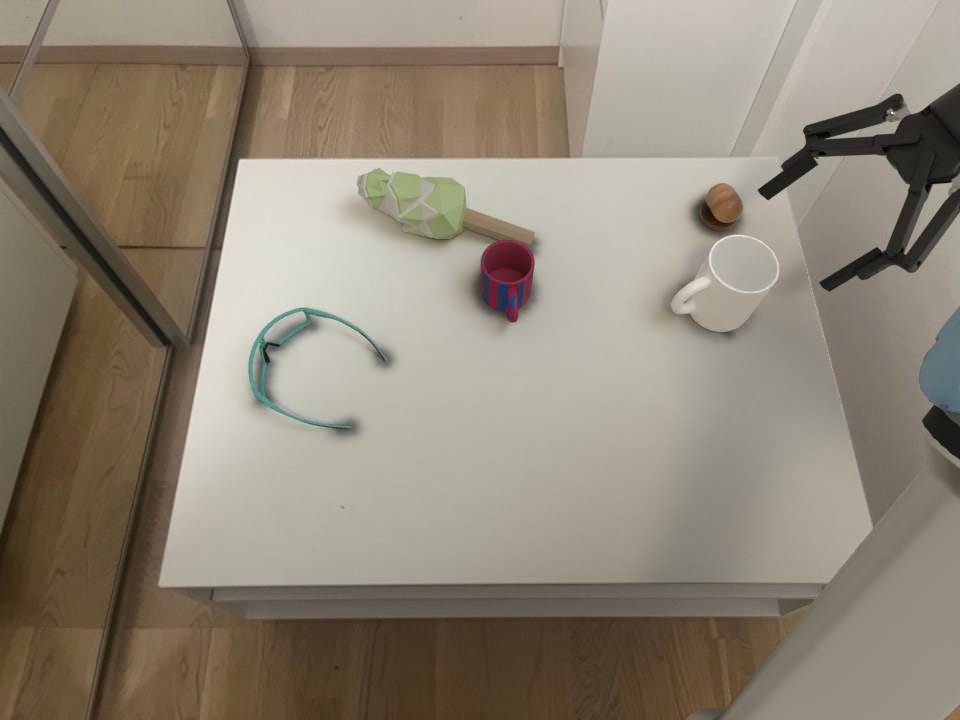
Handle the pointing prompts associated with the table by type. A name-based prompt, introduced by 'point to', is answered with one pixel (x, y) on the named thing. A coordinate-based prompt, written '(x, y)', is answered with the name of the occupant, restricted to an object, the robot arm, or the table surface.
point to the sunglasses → (265, 344)
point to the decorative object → (432, 206)
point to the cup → (507, 276)
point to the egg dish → (721, 208)
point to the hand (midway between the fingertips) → (791, 239)
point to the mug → (729, 283)
